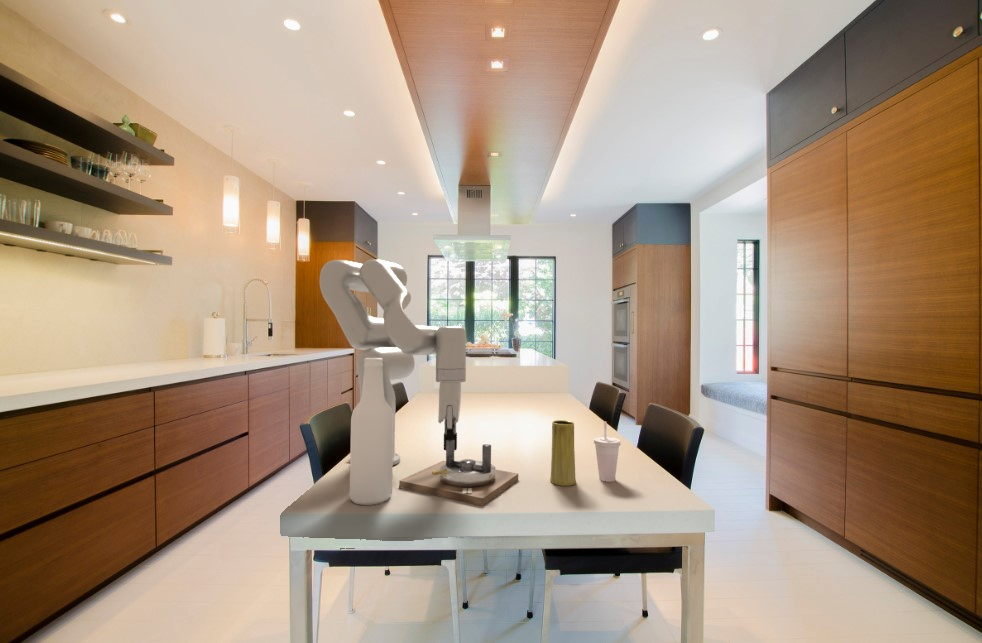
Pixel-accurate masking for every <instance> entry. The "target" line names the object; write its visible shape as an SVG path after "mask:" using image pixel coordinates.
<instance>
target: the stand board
mask: <svg viewBox="0 0 982 643" xmlns="http://www.w3.org/2000/svg"><path fill="white" fill-rule="evenodd" d="M445 464H446V460H442V461H440V462H437V463H435V464H433V465H431V466H429V467H426V468H424V469H422V470H420V471H417V472H415V473H413V474H410V475H409V476H406V477H404V478H402V479H400V480H399V482H398V483H399V484H398V488H402V489H406V490H410V491H415V492H418V493H424V494H429V495H433V496H437V497H442V498H446V499H451V500H454V501H455V500H456V501H460V502H464V503H469V504H473V505H477V506H484V505H486V504H487V503H488V502H490V501H492V499H494V498H495V497H496V496H498V495H500V494H502V492H504V491H505V490H507V489H508V488H509V487H510V486H512V485H513V484H515V483H516V482H517V481H519V473H516V472H512V471H506V470H499V469H495V480H494V481H493V482H491V483H489V484H486V485H482V486H475V487H459V486H452V485H449V484H446V483H444V482H442V481H441V480H440V474H438V475H432V472H433V471H439V470H440V468H441V467H442V466H443V465H445Z"/></svg>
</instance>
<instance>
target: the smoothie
mask: <svg viewBox="0 0 982 643" xmlns="http://www.w3.org/2000/svg"><path fill="white" fill-rule="evenodd" d="M593 444H594V445H595V454H596V462H597V470H598V479H599V481H601V480H602V482H605V481H606V483H612V482H611V481H613V482H615V481H616V477H617V476H616V474H617V466H618V459H619V458H618V457H619V451H620V450H619V449H620V446H621V445H622V444H621V440H620V439H619V438H615V437H612V436H611V437H610V436H607V421H603V436H597V437H594V439H593Z"/></svg>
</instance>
